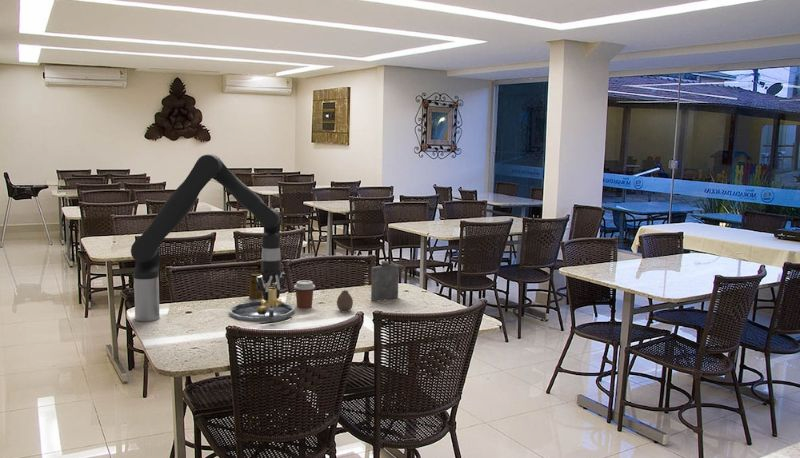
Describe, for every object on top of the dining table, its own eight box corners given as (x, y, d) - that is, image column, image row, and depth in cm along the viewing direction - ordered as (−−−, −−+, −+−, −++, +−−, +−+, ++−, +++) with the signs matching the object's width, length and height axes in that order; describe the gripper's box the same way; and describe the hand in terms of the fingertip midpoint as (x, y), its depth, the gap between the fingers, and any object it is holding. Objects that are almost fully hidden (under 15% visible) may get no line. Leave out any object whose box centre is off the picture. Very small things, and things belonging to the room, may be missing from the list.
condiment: (263, 298, 301) (263, 272, 299) (264, 302, 293) (263, 276, 291) (247, 298, 300) (247, 273, 298) (247, 303, 291) (247, 277, 290)
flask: (369, 300, 303) (369, 262, 300) (394, 296, 311) (395, 259, 308) (373, 301, 300) (373, 263, 297) (399, 298, 308) (400, 260, 305)
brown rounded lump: (355, 310, 284) (356, 291, 283) (344, 313, 279) (344, 293, 278) (345, 307, 289) (345, 288, 287) (333, 310, 284) (333, 290, 282)
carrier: (218, 313, 274) (218, 297, 273) (271, 303, 292) (271, 288, 291) (251, 327, 255) (251, 310, 254) (305, 316, 273) (305, 300, 272)
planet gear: (257, 303, 268) (256, 287, 267) (274, 300, 273) (274, 285, 272) (268, 307, 262) (268, 291, 261) (285, 304, 267) (285, 288, 266)
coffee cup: (289, 309, 283) (289, 282, 281) (302, 305, 291) (302, 278, 289) (306, 312, 279) (307, 285, 277) (319, 308, 287) (319, 281, 285)
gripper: (280, 255, 272) (280, 295, 275) (250, 259, 263) (251, 300, 265) (291, 257, 267) (291, 298, 270) (260, 262, 257) (261, 304, 260)
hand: (271, 299), depth 267 cm, fingers closed on planet gear, 4 cm apart
